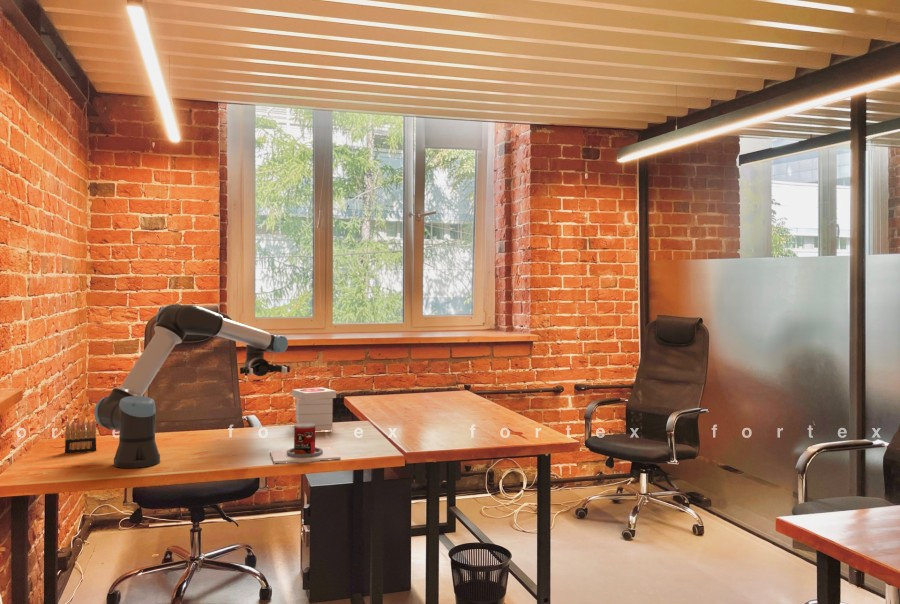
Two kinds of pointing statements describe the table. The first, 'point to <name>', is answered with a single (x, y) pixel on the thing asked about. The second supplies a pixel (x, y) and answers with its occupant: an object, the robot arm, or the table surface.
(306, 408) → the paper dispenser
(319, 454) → the carrier plate
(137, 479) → the table surface
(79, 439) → the ammunition clip
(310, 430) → the canned food
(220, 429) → the table surface
